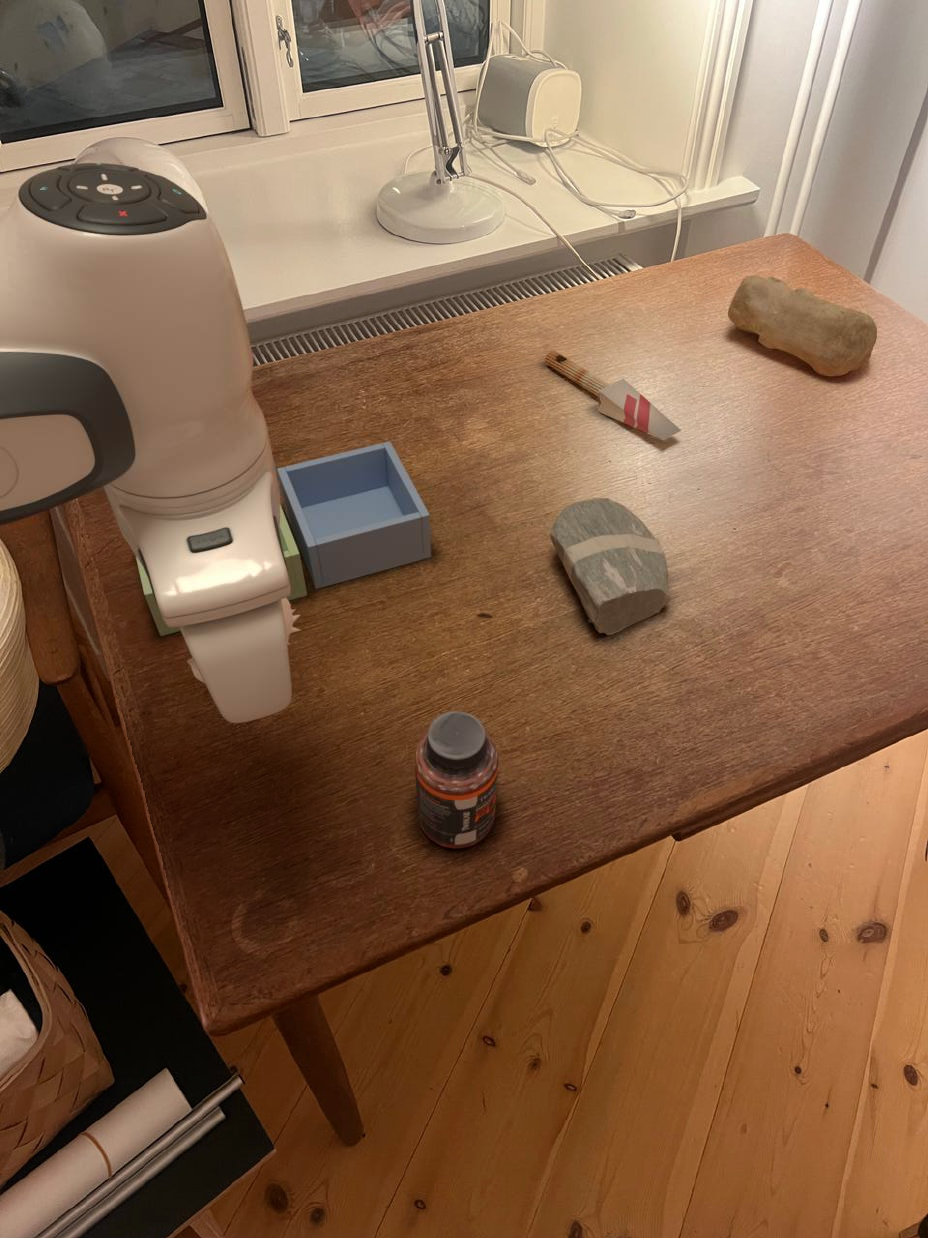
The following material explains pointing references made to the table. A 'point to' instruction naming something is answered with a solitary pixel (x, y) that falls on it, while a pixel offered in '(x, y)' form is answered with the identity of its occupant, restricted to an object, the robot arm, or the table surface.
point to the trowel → (617, 399)
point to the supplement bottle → (456, 780)
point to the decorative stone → (611, 563)
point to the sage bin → (292, 565)
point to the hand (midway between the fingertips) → (240, 646)
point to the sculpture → (803, 325)
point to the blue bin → (355, 514)
